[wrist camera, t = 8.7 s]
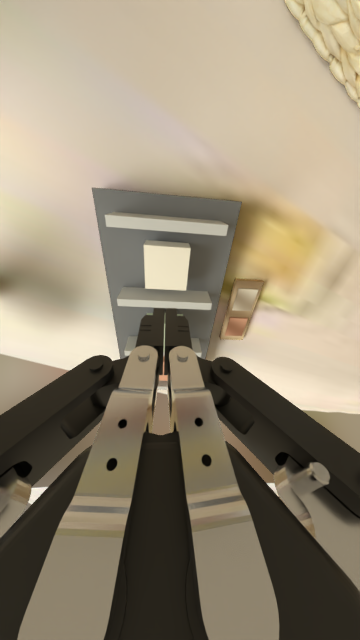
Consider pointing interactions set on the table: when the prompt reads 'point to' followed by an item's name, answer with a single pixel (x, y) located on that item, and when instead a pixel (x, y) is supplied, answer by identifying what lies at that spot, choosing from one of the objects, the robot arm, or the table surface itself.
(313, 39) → the storage basket
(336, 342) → the table surface
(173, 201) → the grey shelf board
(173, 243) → the key ivory
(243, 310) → the strip
